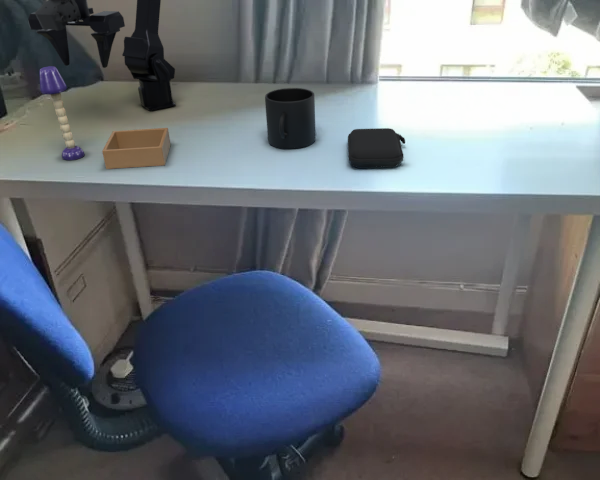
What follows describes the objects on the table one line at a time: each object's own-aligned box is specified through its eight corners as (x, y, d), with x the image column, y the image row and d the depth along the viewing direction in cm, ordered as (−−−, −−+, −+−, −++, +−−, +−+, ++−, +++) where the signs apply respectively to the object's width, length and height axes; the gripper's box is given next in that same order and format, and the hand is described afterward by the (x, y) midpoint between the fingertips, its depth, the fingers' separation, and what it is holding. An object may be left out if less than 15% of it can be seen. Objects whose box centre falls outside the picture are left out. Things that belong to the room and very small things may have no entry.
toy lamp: (69, 163, 118) (46, 72, 109) (53, 158, 120) (29, 69, 111) (89, 154, 122) (67, 65, 112) (73, 150, 124) (51, 63, 114)
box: (116, 148, 124) (112, 131, 122) (170, 144, 124) (168, 127, 122) (106, 169, 115) (102, 151, 113) (165, 165, 115) (161, 147, 113)
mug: (258, 153, 119) (254, 105, 113) (275, 131, 128) (272, 87, 123) (306, 155, 117) (304, 107, 111) (320, 133, 126) (319, 88, 121)
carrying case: (409, 170, 109) (402, 140, 121) (410, 153, 107) (403, 125, 119) (348, 171, 110) (347, 141, 122) (348, 154, 108) (347, 126, 120)
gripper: (-3, -13, 115) (22, 74, 123) (81, -13, 109) (101, 79, 118) (37, -22, 123) (58, 60, 132) (117, -22, 118) (133, 64, 126)
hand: (86, 66), depth 127 cm, fingers open, 9 cm apart
